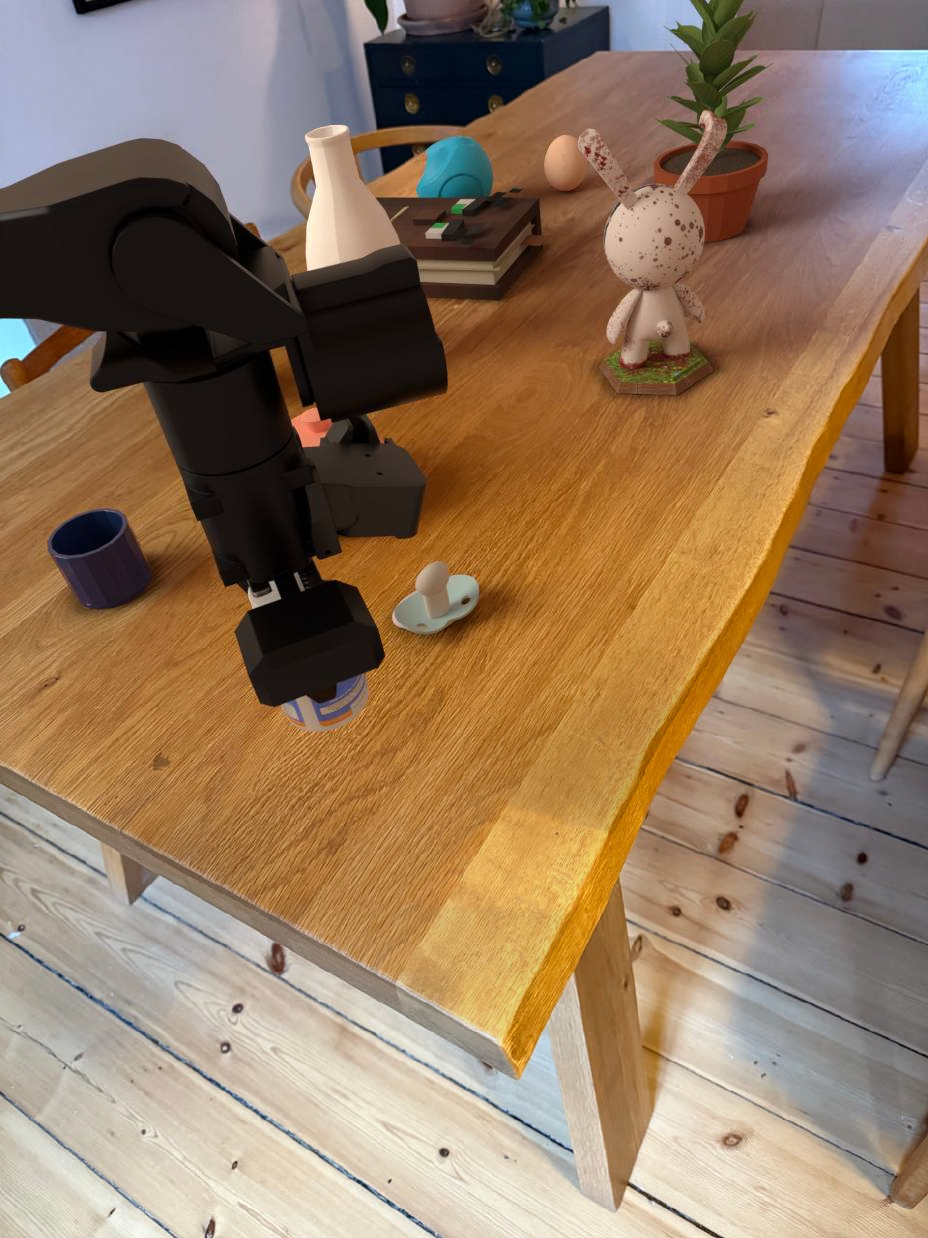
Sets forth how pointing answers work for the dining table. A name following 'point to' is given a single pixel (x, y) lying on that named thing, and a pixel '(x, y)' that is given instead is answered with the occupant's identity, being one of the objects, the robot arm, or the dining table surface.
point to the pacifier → (436, 600)
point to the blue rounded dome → (456, 170)
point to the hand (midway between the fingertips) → (314, 667)
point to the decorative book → (468, 241)
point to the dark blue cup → (100, 558)
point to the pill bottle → (328, 713)
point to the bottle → (341, 204)
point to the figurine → (654, 269)
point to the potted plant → (736, 163)
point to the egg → (565, 163)
